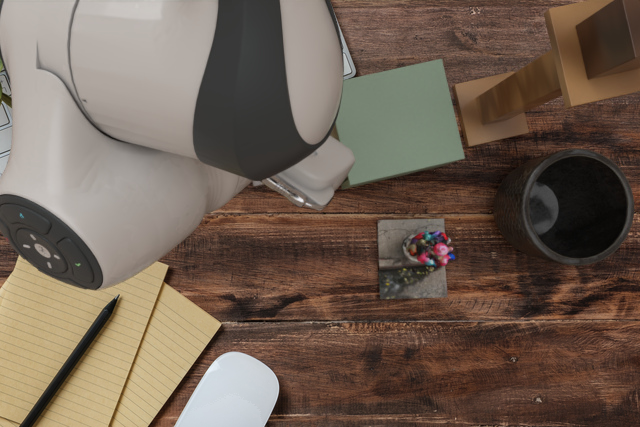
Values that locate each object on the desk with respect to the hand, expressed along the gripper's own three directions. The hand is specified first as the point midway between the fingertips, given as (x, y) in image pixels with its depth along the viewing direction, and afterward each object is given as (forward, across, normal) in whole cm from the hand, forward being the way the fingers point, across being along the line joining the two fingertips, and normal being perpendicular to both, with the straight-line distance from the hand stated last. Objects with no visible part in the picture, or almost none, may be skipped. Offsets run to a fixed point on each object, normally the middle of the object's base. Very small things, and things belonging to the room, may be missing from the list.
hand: (285, 96), depth 49 cm
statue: (+13, -23, +17) cm, 31 cm away
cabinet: (+19, -10, +7) cm, 23 cm away
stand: (+28, -20, -2) cm, 34 cm away
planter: (+23, -32, +6) cm, 40 cm away
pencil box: (+8, -23, -18) cm, 30 cm away
